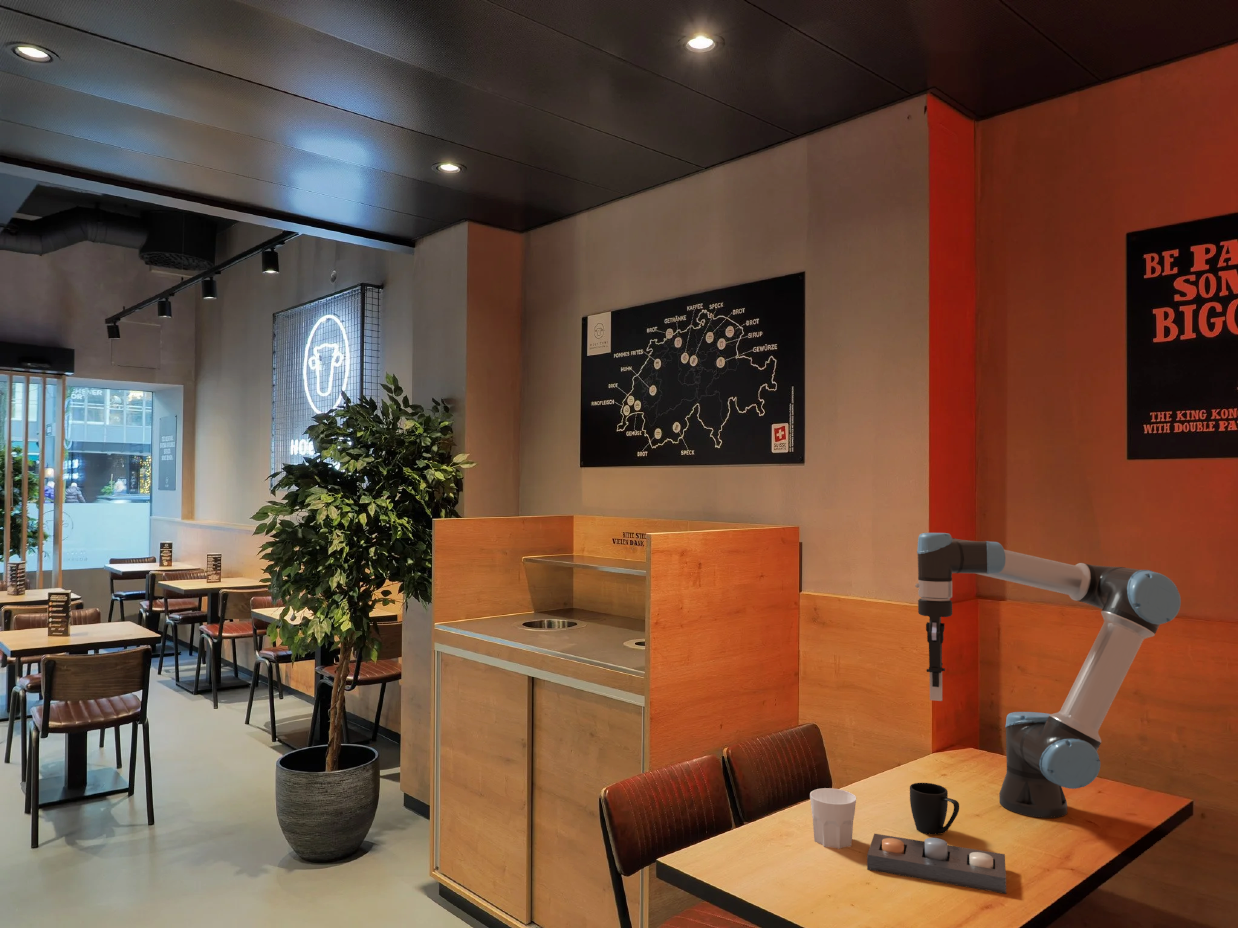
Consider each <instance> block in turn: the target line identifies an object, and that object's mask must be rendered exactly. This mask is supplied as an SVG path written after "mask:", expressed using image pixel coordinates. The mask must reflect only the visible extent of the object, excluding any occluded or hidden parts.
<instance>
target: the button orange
mask: <svg viewBox="0 0 1238 928" xmlns="http://www.w3.org/2000/svg"><path fill="white" fill-rule="evenodd" d="M882 851H888V852H894V853H900V854H904V843H903V842H902V841H901V840H898V839H894V838H885V839H883V840H882Z"/></svg>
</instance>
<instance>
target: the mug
mask: <svg viewBox="0 0 1238 928" xmlns="http://www.w3.org/2000/svg"><path fill="white" fill-rule="evenodd" d="M948 796H949V795H948V789H947V788H946V787H944V786H942V785H939V784H937V783H932V782H931V783H929V782H915V783H912V784H910V785H909V802H910V810H911V814H912V815H911V816H912V819H913V821H914V825H915V828H916V831H918V832H919V833H921V834H925V835H931V836H933V835H934V836H935V835H940V834H945V833H946V832H948V830H949V829H950V827H951V826H952V824H953V823H954V821H955V820H956V818H957V816H958V814H959V811H960V803H959V801H958V800H956V799H954V798H949V797H948ZM949 803H951V804H952V805H953V811H952V814H951V815H950V818H949V820H948V821H947V823H946V824H945V822H946V817H947V813H948V806H949V805H948V804H949ZM944 825H945V826H944Z"/></svg>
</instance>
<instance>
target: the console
mask: <svg viewBox="0 0 1238 928" xmlns="http://www.w3.org/2000/svg"><path fill="white" fill-rule="evenodd" d="M885 838H894V839H898V840H901V841H902V842H903V843H904V854H900V853H894V852H888V851H882V840H883V839H885ZM871 839H872V840H871V843H870V845H869V848H868V851H867V855H866V857H867V859H866V860H867V861H866V863H867V864H866V866H867V867H866V869H867V870H868V871H869V870H870V871H873V872H879V873H887V874H891V875H896V876H902V877H908V878H913V879H919V880H924V881H925V880H926V881H931V882H937V883H942V884H947V885H954V886H957V887H958V886H959V887H965V888H971V889H976V890H982V891H988V892H993V893H999V894H1004V895H1006V894H1007V872H1006V868H1007V867H1006V855H1005V853H1000V852H994V851H988V850H986V851H985V850H980V849H975V848H969V847H968V848H967V847H961V846H957V845H950V844H949V845H948V844H947V851H948V861H942V860H936V859H930V858H925V840H918V839H912V838H911V839H910V838H905V837H904V838H903V837H900V836H899V837H898V836H894V835H885V834H882V833H881V834H880V833H873V836H872V838H871ZM972 852H981V853H986V854H988V855H990V856H992V857H993V869H990V868H984V867H978V866H972V865H970V862H969V854H970V853H972Z"/></svg>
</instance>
